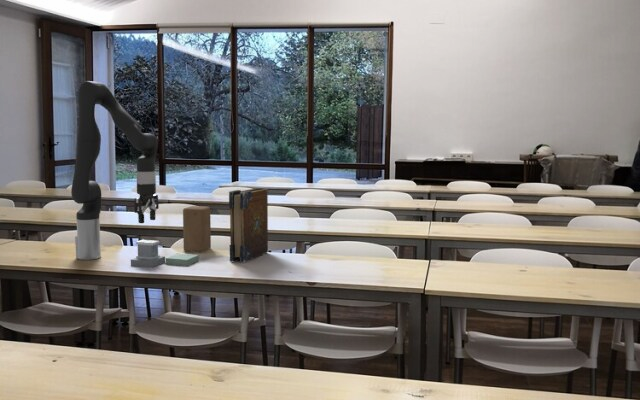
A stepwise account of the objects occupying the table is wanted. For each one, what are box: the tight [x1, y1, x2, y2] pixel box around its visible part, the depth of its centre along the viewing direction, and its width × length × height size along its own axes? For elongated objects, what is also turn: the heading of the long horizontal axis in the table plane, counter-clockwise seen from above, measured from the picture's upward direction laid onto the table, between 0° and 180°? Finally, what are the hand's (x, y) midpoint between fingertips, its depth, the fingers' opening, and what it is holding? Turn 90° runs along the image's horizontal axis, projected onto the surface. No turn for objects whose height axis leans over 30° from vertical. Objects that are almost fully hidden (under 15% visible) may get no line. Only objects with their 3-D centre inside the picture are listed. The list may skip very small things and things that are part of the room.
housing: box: [135, 239, 161, 260], centre depth 249 cm, size 8×5×7 cm, turn 74°
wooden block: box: [182, 205, 212, 253], centre depth 278 cm, size 10×10×20 cm
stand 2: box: [165, 253, 200, 267], centre depth 253 cm, size 10×10×2 cm
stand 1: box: [130, 255, 166, 268], centre depth 250 cm, size 10×10×2 cm
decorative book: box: [228, 187, 269, 264], centre depth 263 cm, size 23×7×30 cm, turn 157°
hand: (147, 221), depth 248 cm, fingers open, 8 cm apart
